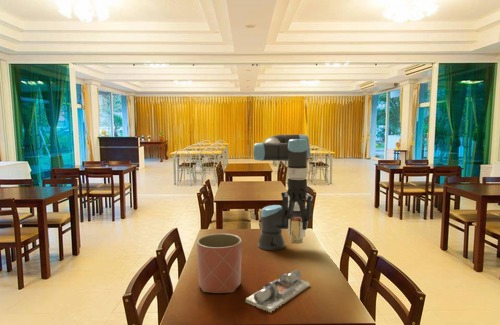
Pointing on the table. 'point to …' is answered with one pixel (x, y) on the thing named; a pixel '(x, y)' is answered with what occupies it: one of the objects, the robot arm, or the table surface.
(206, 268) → the planter
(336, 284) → the table surface
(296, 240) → the brass cylinder
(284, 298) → the pipeline
